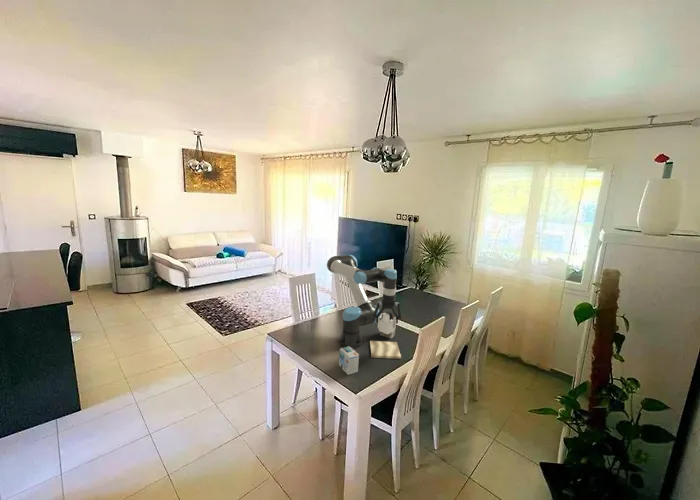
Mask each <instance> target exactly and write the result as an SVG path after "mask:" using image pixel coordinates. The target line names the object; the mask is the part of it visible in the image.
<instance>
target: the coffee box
mask: <svg viewBox="0 0 700 500" xmlns="http://www.w3.org/2000/svg"><path fill="white" fill-rule="evenodd" d="M384 312H387V311H384ZM391 313H392V320H394V319H395V318H396V317H395V315H394V313H393V312H391ZM382 316H383V313H381V316H380V320H381V319H382ZM395 332H396V329H394V331H393V332H391V333H389V334H385V333H383V332H380V331H379V336H382V337H384V338H388V339H393V337H394V336H395V335H396V333H395Z"/></svg>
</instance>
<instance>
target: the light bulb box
mask: <svg viewBox="0 0 700 500" xmlns="http://www.w3.org/2000/svg"><path fill="white" fill-rule="evenodd" d="M338 356H339V357H338V358H339V359H338V360H339V361H338V366H339V367H340V369H342V370H343V372H345V373H346V375H348V376H349V375H352V374H355V373H358V372H359V362H360V361H359V358H360V354H359V353H358V352H357V351H356V350H354V348H351V347H350V346H348V347H341V348H339V355H338Z"/></svg>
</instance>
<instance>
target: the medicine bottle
mask: <svg viewBox="0 0 700 500" xmlns="http://www.w3.org/2000/svg"><path fill="white" fill-rule="evenodd" d="M392 313H393V312H389V311H386V312H385V311H383V312H382V314H383V316H382V315H381V317H382V319H381V318H380V321H379V328H378V332H379V333H380V332H383V333H385V334H389V333H391V332H393V331H394V322H395V321H394V320H392Z"/></svg>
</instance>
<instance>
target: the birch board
mask: <svg viewBox="0 0 700 500" xmlns="http://www.w3.org/2000/svg"><path fill="white" fill-rule="evenodd" d="M369 347H370V357H371V358H374V359H375V358H376V359H377V358H378V359H397V360H401V359H402V354H401V353H400V352H401V351H400V347H399V345H398V342H397V341H385V340H384V341H380V340H370V341H369Z"/></svg>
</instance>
